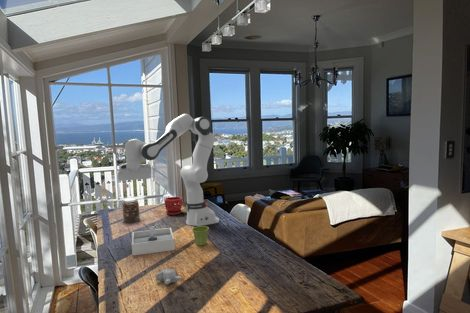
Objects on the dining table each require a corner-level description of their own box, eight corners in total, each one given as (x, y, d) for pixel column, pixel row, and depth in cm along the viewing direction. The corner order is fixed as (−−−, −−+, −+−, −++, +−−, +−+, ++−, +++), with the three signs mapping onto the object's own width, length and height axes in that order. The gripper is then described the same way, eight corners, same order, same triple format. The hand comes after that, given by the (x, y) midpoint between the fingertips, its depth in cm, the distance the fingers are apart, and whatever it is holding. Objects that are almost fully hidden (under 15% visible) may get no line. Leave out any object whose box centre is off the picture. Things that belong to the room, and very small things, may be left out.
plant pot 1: (181, 215, 261) (180, 199, 260) (163, 216, 261) (162, 200, 260) (184, 211, 274) (183, 195, 273) (167, 211, 274) (166, 196, 273)
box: (171, 237, 211) (170, 227, 210) (174, 249, 190) (174, 238, 189) (133, 242, 205) (132, 232, 205) (132, 255, 184) (131, 244, 183)
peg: (155, 242, 202) (154, 225, 201) (156, 244, 199) (154, 227, 198) (150, 243, 201) (148, 226, 200) (150, 245, 198) (149, 228, 197)
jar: (143, 218, 256) (142, 198, 255) (130, 222, 247) (129, 201, 245) (132, 217, 263) (130, 197, 261) (119, 221, 253) (118, 200, 252)
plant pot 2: (212, 241, 200) (211, 226, 199) (204, 247, 191) (203, 231, 190) (198, 240, 203) (197, 225, 203) (189, 245, 195) (188, 230, 194)
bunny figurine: (172, 264, 160) (185, 272, 147) (173, 275, 160) (186, 284, 147) (152, 269, 155) (163, 278, 142) (153, 281, 155) (164, 290, 142)
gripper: (150, 163, 227) (152, 184, 228) (117, 165, 221) (118, 187, 223) (150, 164, 221) (152, 186, 222) (116, 166, 215) (118, 189, 217)
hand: (135, 186), depth 222 cm, fingers open, 8 cm apart
